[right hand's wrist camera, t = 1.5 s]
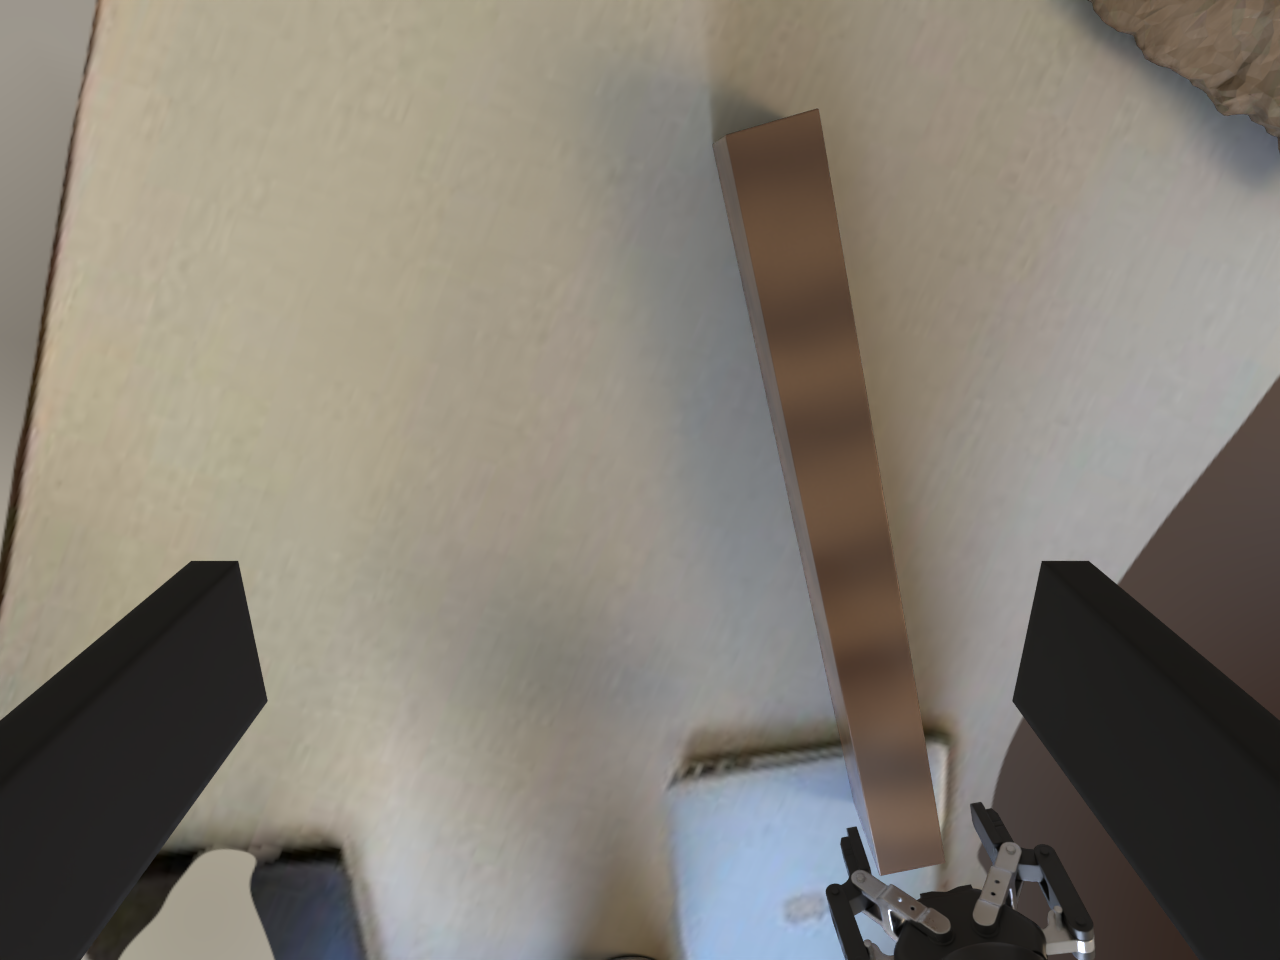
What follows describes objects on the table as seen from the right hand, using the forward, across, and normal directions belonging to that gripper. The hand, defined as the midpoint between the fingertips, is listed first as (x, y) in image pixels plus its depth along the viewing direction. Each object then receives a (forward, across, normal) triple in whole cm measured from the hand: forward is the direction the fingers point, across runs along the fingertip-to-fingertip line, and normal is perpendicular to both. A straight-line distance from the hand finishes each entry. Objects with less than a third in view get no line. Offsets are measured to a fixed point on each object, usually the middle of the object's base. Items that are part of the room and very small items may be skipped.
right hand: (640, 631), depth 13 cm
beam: (+40, +14, -16) cm, 45 cm away
